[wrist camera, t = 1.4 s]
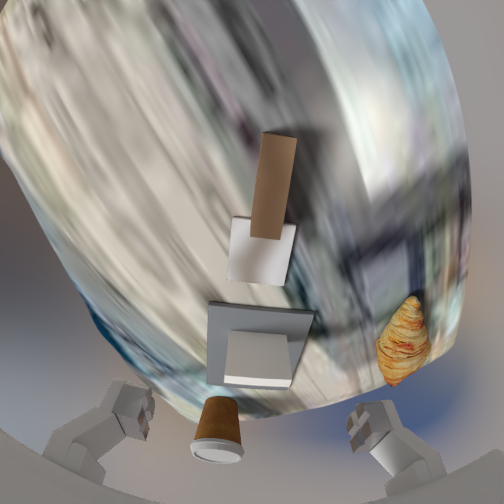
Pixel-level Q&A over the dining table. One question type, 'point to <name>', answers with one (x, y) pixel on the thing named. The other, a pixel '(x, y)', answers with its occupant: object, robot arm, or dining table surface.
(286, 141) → the wooden handled scraper
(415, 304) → the croissant
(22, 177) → the dining table surface
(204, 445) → the disposable coffee cup
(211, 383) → the slate board
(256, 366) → the tile
